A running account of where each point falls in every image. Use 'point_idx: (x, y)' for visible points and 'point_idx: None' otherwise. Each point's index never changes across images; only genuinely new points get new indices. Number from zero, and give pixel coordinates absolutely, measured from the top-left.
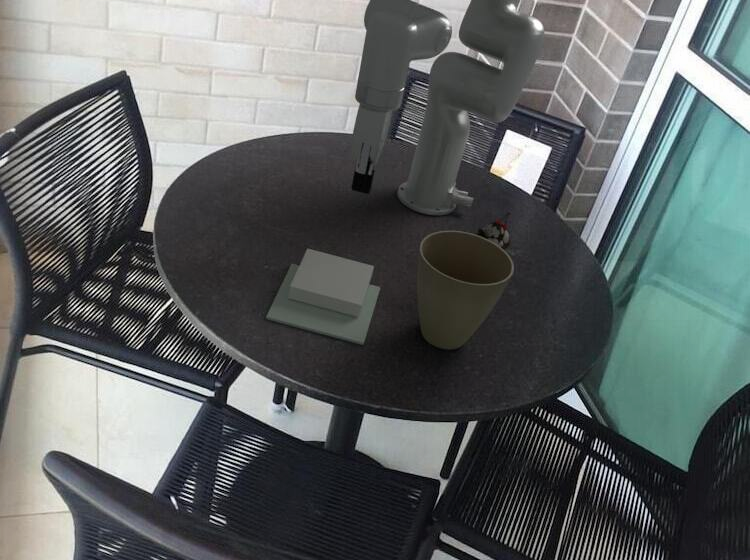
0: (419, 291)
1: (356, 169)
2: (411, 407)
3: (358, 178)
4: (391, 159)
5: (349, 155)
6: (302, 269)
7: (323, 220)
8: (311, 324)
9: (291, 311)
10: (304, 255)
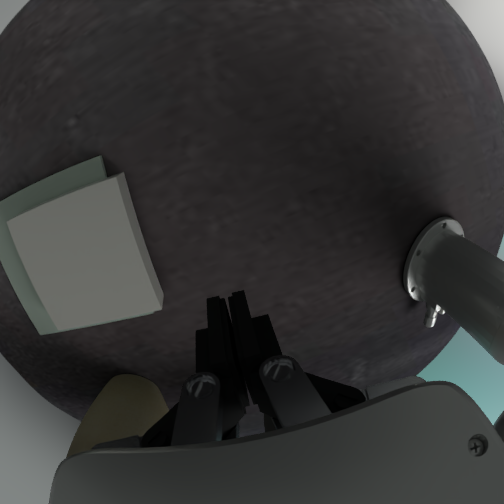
0: (82, 424)
1: (181, 396)
2: (29, 384)
3: (196, 365)
4: (490, 181)
5: (51, 488)
6: (50, 210)
7: (303, 130)
8: (10, 270)
9: (7, 233)
10: (89, 186)
